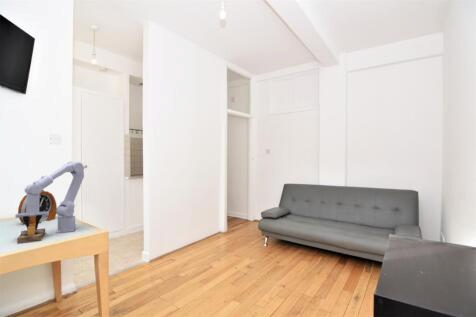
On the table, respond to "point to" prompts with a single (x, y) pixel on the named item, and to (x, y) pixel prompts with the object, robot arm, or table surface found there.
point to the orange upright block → (31, 229)
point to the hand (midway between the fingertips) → (32, 228)
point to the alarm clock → (40, 207)
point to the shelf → (31, 236)
